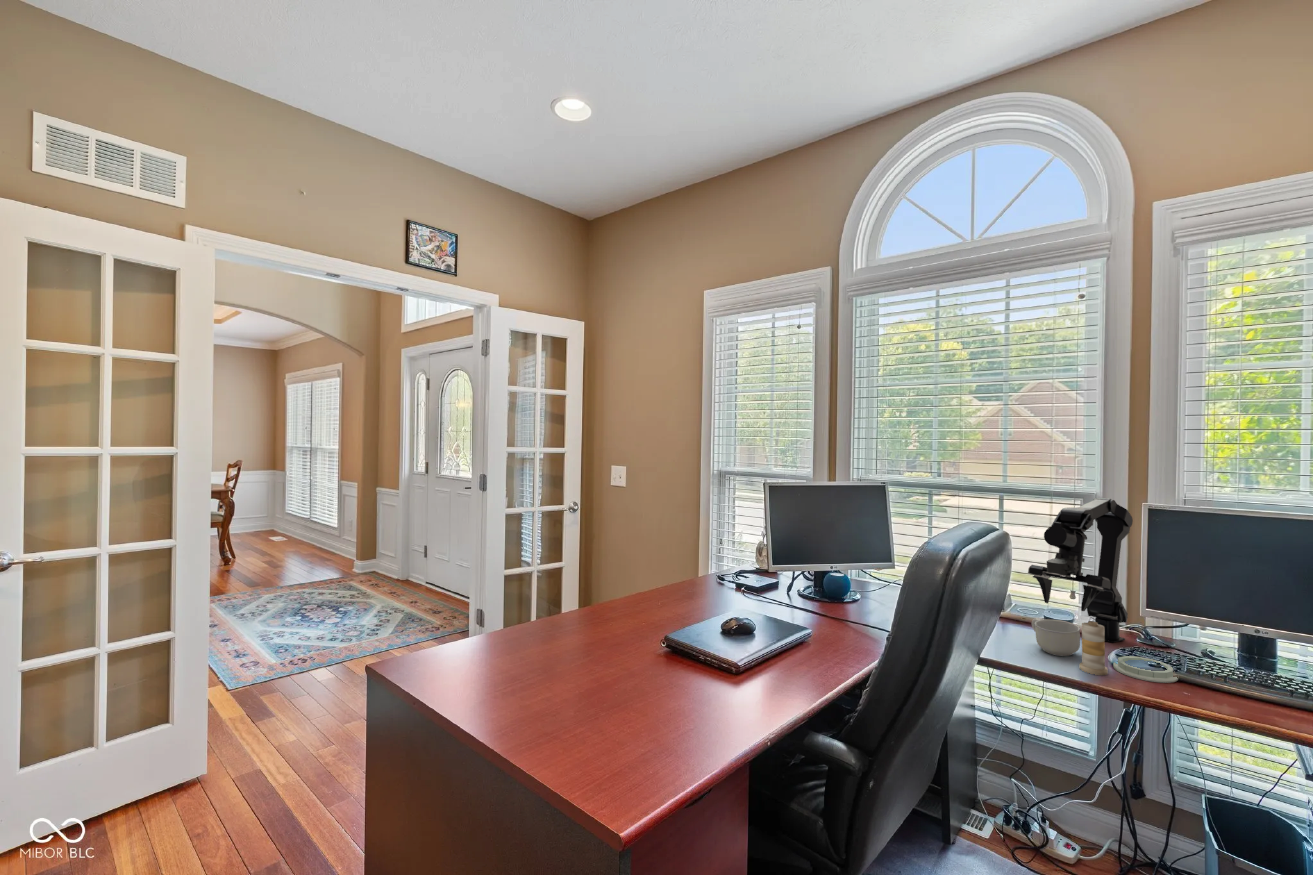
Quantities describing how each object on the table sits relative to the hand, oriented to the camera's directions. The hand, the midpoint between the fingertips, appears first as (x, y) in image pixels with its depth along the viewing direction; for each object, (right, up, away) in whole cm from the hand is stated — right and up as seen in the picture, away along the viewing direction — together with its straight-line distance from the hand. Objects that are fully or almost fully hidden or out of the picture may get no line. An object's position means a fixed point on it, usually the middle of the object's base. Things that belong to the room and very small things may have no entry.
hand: (1064, 607), depth 165 cm
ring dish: (+13, -14, -12) cm, 22 cm away
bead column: (0, -14, -10) cm, 17 cm away
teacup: (0, -14, +4) cm, 15 cm away
